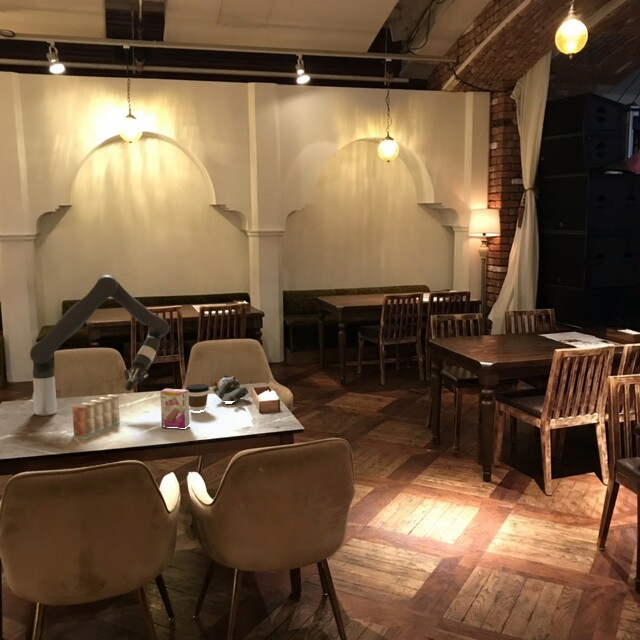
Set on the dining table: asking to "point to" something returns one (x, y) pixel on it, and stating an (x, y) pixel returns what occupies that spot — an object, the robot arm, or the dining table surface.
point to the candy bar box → (175, 408)
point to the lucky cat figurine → (229, 389)
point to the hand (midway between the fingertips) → (127, 390)
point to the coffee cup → (197, 396)
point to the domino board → (97, 430)
